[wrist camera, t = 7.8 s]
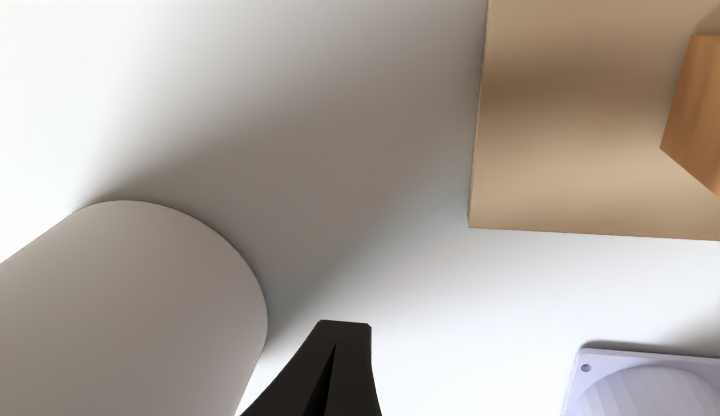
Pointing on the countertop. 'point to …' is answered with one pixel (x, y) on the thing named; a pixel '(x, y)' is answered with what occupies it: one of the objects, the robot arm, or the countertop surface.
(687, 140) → the brown piece
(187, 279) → the cylinder vase
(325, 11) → the countertop surface
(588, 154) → the base board
